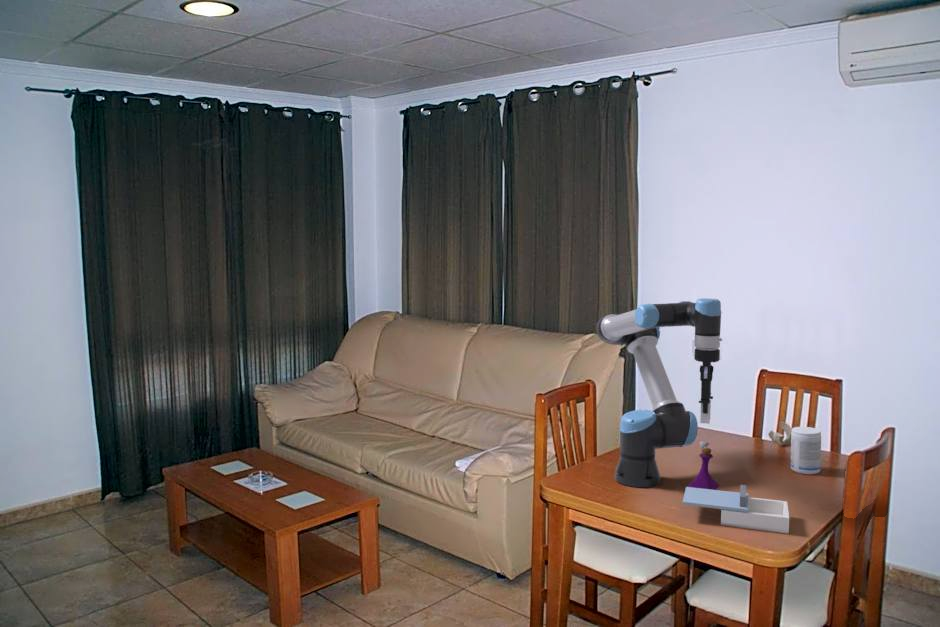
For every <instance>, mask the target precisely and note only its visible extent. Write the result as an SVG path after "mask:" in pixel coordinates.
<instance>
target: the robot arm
mask: <svg viewBox="0 0 940 627" xmlns="http://www.w3.org/2000/svg"><path fill="white" fill-rule="evenodd" d="M721 307H722V304H721V300H720V299H717V298H707V297H706V298H698V299H696V301H695V302H692V301H685V300H684V301H679V302H673V303H672V302H670V303H669V302H668V303H646V304H640V305H638V306H637V308H636V309H633V310H629V311H627V312H624V313H612V314H607V315H604V316H602V317H601V318H600V319H599V320H598V321H597V323H596V327H595V330H596V335H597V337H598V338H599V339H600V340H601V341H602V342H603V343H605V344H608V345H613V346H620V345H621V346H624V345H625V346H626V349H627V351H628V353H629V354H632V355H633V357H634V360H635V362H636V365H637V368H638V370H639V373H640V376H641V378H642V381H643V383H644V387H645V390H646V393H647V395H648V398H649V401H650V403H651V407H652V410H649V409H636V410H635V409H634V410H631V411H628V412H626V413H624V414H623V415H622V416H621V419H620V425H619V432H620V434H619V436H620V438H619V439H620V440H619V442H620V443H619V444H620V445H619V446H620V447H619V449H620V450H619V454H620V455H619V459H618V463H617V465H616V467H615V470H614V471H615V472H614V480H615V481H616V482H617V483H619V484H620V485H623V486H627V487H631V488H633V487H634V488H650V487H655V486H657V485H659V484H660V483H661V473H660V470H659V466H658V464H657V461H656V460H657V459H656V450H659V449H667V448H669V449H670V448H682V447H686V446H690V445H692V444H693V443H694V442H695V441H696V440H697V436H698V431H699V424H698V420H697V417H696V415H695V413H694V412H692V411H690V410H686V408H685V406H684V404H683V403H682V402H679V401H678V400H677V397H676V395H675V392H674V390H673V387H672V385H671V382H670V380H669V379H670V378H669V377H668V374H667V372H666V370H665V367H664V364H663V361H662V358H661V356H660V353H659V351H658V349H657V345H658V343H659V339H660V335H661V330H660V329H661V328H666V327H668V328H669V327H681V326H682V327H686V326H688V327H693V328H694V347H695V348H694V355H693V356H694V358H693V359H694V361H697V362H698V363H699V362H701V363H702V365H700V367H699V373H700V377H699V378H700V379H699V380H700V381H701V383H700V386H701V387H700V400H698V404H700V424H706V425H707V424H708V425H709V424H710V420H711V407H712V406H711V403H712V400H713V399H714V396H712V381H713V372H714V366H713V365H712V363H718V362H719V361H720V360H721V359H720V358H721V356H720V355H721V354H720V353H721V351H720V349H719V348H720V346H721V342H722V341H723V339H722V338H721V324H722V323H721V322H722V321H721V320H722V308H721Z"/></svg>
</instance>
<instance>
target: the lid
mask: <svg viewBox="0 0 940 627" xmlns="http://www.w3.org/2000/svg"><path fill="white" fill-rule="evenodd" d="M739 486H740V488H739V492H737V491H729V490H719V489H716V490H711V489H702V488H693V487H688V486H686V487H685V489H684V490H685V491H684V494H683V499H682V505H685V506H694V507H700V508H702V507H703V508H709V509H720V510H721V509H726V510H734V511H742V512H748V497H749V493H747V485H746V484H745V485H744V484H739Z"/></svg>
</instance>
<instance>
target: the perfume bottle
mask: <svg viewBox="0 0 940 627" xmlns="http://www.w3.org/2000/svg"><path fill="white" fill-rule="evenodd" d="M709 445H710V443H709V442H707V441H699V447H700V449H701V453H700V454H699V457H700V459H701V460H702V461H701V462H702V463H701V468H700V470H699V472H698V474H697V475H696V476H695V478H694V479H693V480H692V481H691V482H690V483H689V485H688V486H687V487H693V488H702V489H711V490H718V488H719V487H720V484H719V483H718V482H716V480H715V479H714V478H713V477H712V476H711V474H710V472H709V462H710V460H711V459H712V458H713V457H714V455H713V454H711V453H712V449H711V448H709V447H708V446H709Z"/></svg>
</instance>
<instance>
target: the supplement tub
mask: <svg viewBox="0 0 940 627" xmlns="http://www.w3.org/2000/svg"><path fill="white" fill-rule="evenodd" d="M791 429H792V432H791V441H790V469H791V470H792V471H793V472H795V473H798V474H802V475H816V474H819V473H820V472H821V465H822V463H821V460H822V459H821V458H822V431H821V430H820V429H819V428H815V427H811V426H795V427H792V428H791Z"/></svg>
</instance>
